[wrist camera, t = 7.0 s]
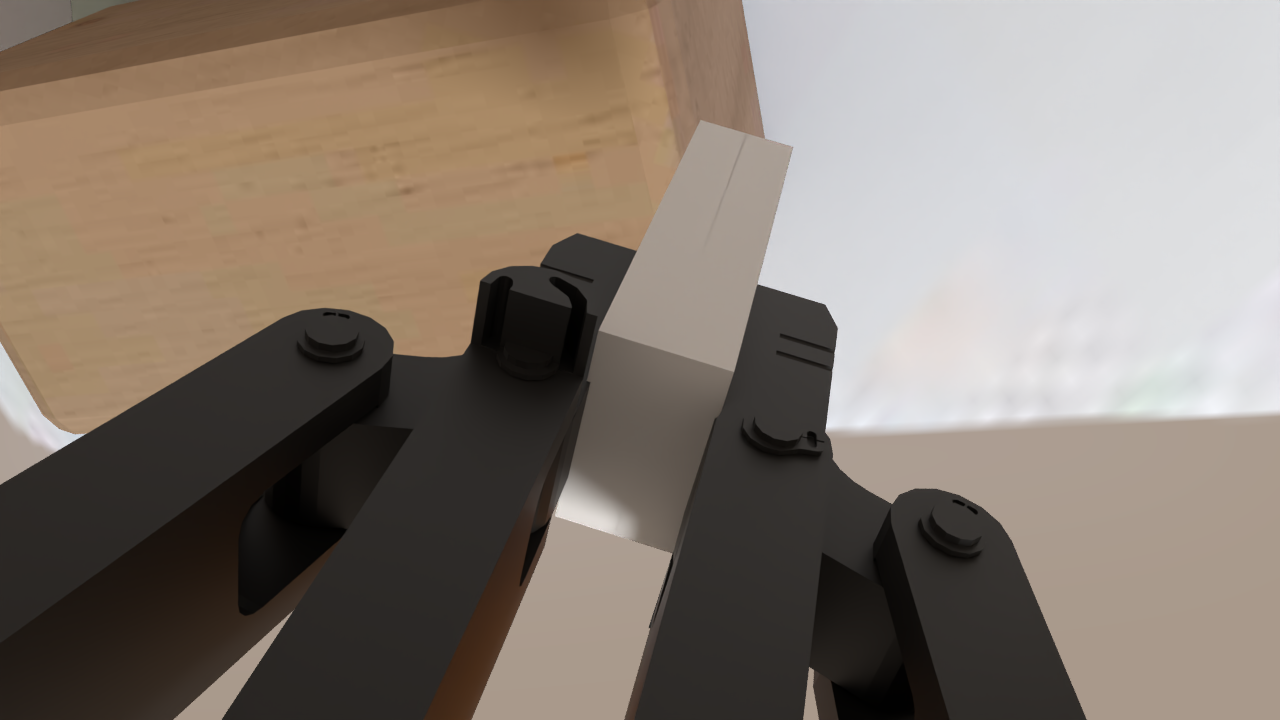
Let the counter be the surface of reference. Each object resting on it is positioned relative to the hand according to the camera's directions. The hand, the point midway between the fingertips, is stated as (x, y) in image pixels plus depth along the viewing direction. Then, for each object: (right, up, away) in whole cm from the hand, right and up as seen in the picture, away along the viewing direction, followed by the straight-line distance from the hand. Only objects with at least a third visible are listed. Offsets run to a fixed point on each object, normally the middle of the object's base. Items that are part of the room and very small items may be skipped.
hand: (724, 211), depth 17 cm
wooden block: (+1, +3, +9) cm, 10 cm away
